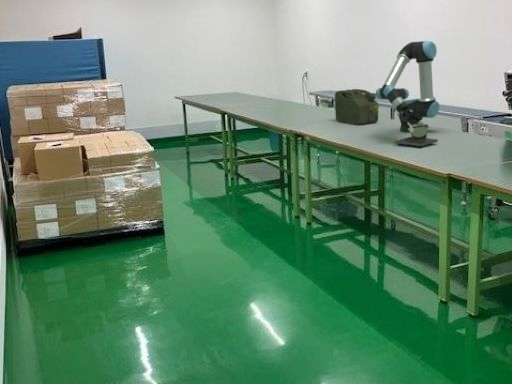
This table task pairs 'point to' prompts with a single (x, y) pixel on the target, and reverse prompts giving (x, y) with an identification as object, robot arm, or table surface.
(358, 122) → the fuel can
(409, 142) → the levelling stand
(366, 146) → the table surface
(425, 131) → the food container
